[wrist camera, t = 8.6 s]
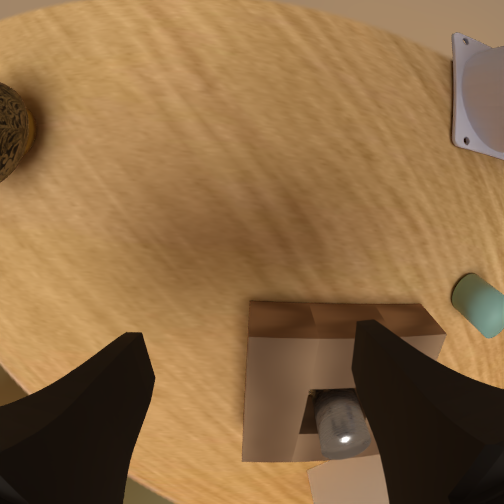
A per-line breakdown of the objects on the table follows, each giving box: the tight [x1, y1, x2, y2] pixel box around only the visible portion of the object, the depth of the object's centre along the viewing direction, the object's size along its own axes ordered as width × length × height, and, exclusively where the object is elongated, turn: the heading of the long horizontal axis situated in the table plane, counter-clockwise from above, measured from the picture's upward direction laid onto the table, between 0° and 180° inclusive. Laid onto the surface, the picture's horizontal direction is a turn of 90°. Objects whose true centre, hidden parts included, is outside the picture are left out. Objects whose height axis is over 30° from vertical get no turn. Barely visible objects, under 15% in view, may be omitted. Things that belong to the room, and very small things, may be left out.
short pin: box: [452, 274, 504, 338], centre depth 18 cm, size 3×3×4 cm
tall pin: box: [310, 388, 371, 460], centre depth 19 cm, size 3×3×7 cm
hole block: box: [242, 301, 447, 462], centre depth 20 cm, size 12×12×4 cm
